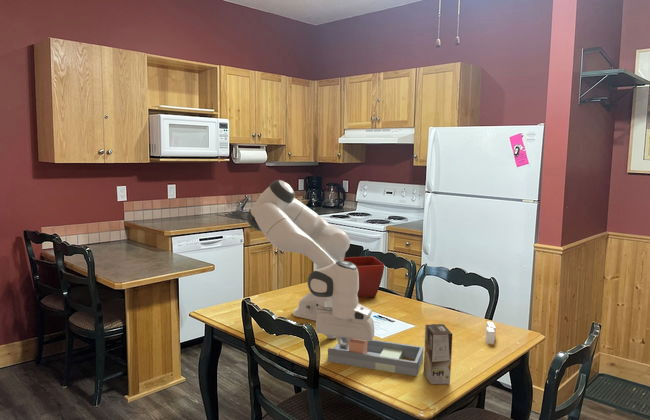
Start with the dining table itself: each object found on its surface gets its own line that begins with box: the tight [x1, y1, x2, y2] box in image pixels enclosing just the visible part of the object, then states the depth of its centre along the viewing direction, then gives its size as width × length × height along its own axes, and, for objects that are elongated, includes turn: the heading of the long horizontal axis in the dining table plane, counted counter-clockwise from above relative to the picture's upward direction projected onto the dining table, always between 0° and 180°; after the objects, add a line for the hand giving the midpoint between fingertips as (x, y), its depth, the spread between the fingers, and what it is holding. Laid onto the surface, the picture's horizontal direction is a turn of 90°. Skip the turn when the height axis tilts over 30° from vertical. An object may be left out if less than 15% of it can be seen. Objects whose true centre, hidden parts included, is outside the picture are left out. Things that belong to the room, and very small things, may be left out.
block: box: [349, 339, 368, 354], centre depth 168 cm, size 5×5×5 cm
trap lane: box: [327, 337, 425, 377], centre depth 169 cm, size 30×14×4 cm, turn 71°
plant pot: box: [344, 256, 385, 299], centre depth 246 cm, size 19×19×17 cm
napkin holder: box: [485, 321, 497, 345], centre depth 191 cm, size 15×11×6 cm
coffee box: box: [423, 323, 453, 385], centre depth 157 cm, size 9×6×16 cm
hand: (343, 348), depth 170 cm, fingers closed
